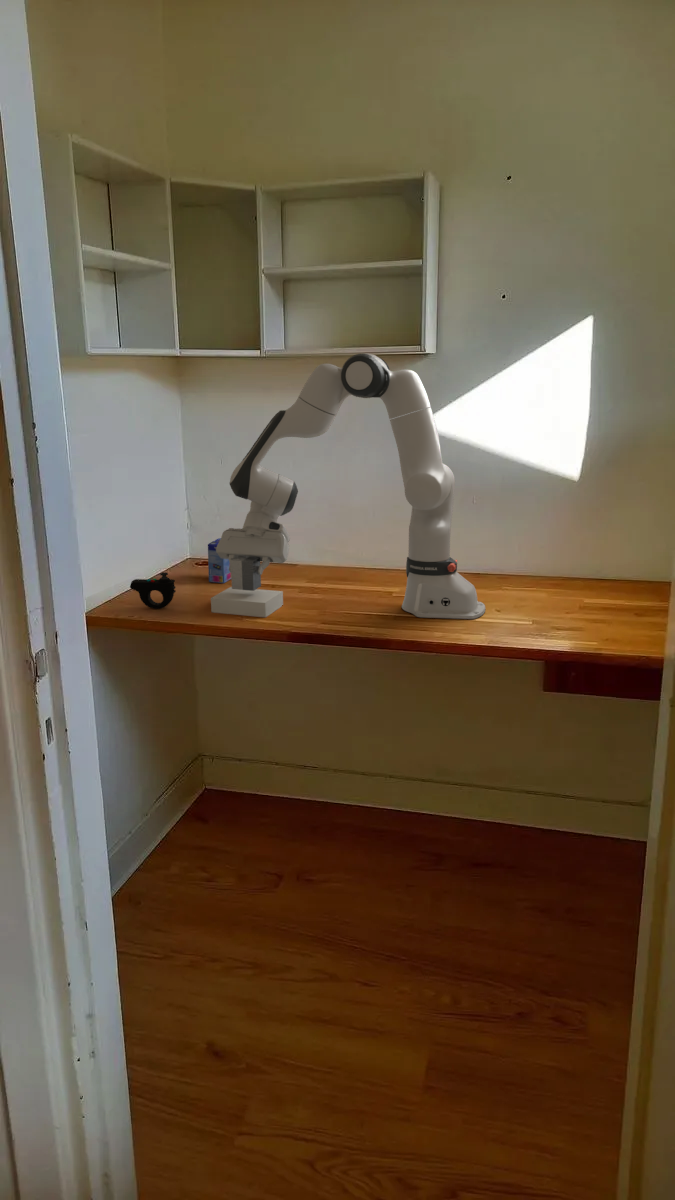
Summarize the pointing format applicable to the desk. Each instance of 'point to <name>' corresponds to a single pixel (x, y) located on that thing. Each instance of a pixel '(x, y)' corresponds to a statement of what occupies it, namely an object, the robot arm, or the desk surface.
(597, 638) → the desk surface
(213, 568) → the ink cartridge box
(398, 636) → the desk surface
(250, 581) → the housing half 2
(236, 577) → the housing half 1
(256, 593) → the stand
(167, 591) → the controller
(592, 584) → the desk surface
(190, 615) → the desk surface
